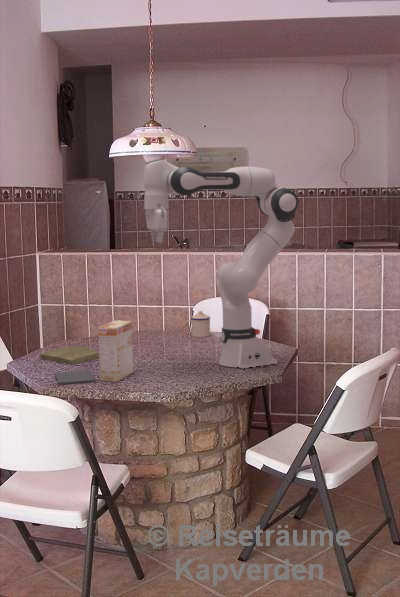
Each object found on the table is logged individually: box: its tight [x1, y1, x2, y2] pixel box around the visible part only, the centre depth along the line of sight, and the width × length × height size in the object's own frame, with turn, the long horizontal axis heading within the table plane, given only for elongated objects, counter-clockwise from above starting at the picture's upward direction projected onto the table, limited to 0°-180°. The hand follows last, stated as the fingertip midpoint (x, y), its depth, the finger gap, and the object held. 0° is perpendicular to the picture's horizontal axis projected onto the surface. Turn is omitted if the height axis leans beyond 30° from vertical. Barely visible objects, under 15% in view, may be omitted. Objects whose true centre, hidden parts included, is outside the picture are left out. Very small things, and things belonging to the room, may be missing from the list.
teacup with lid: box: [184, 310, 211, 338], centre depth 347 cm, size 12×9×12 cm
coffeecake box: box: [97, 319, 134, 383], centre depth 268 cm, size 15×7×20 cm, turn 162°
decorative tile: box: [39, 345, 100, 366], centre depth 302 cm, size 19×20×4 cm
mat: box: [54, 369, 96, 386], centre depth 267 cm, size 13×16×1 cm
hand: (157, 242), depth 273 cm, fingers open, 8 cm apart
